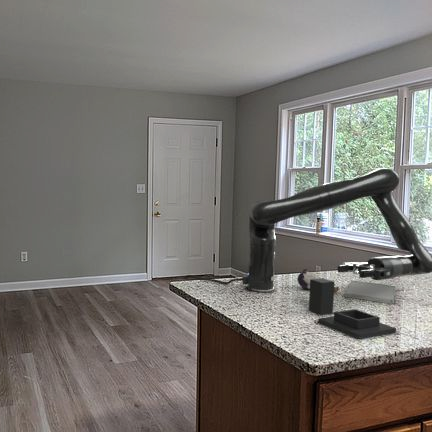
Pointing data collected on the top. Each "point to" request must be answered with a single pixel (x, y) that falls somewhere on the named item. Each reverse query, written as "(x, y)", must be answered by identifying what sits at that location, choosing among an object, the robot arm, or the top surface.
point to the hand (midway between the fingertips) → (349, 271)
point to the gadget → (371, 291)
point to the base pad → (357, 324)
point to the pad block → (321, 296)
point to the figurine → (305, 280)
